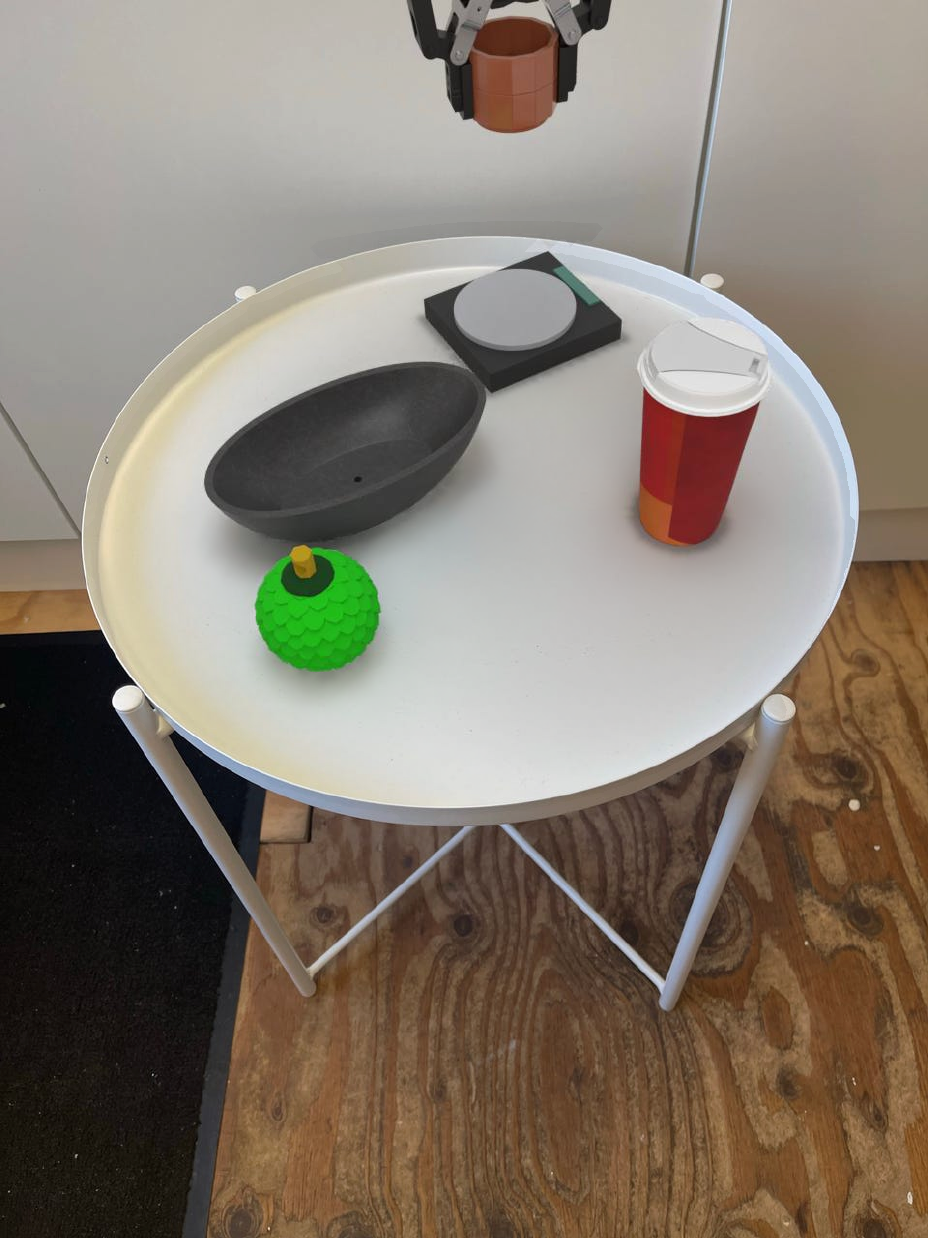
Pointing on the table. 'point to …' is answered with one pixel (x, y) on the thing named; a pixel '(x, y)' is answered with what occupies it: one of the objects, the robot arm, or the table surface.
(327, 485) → the bowl
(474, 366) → the scale
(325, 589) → the ornament
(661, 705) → the table surface
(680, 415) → the coffee cup
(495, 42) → the small bowl
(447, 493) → the table surface
